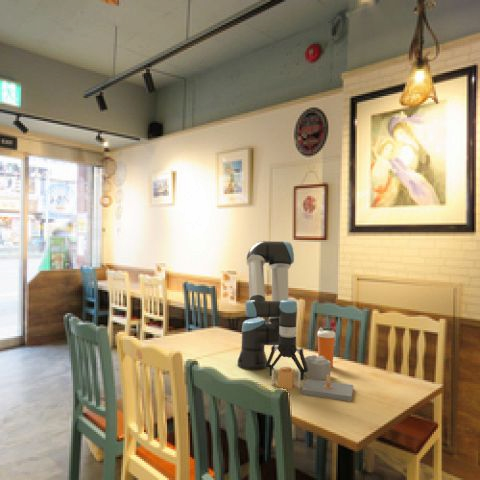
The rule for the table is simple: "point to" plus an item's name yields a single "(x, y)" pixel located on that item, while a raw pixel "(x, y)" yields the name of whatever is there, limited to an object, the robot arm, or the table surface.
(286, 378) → the tan hollow block
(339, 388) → the plate
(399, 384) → the table surface
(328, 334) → the shaker bottle
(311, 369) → the lumpy-topped squat cylinder
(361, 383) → the table surface
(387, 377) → the table surface
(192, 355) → the table surface
